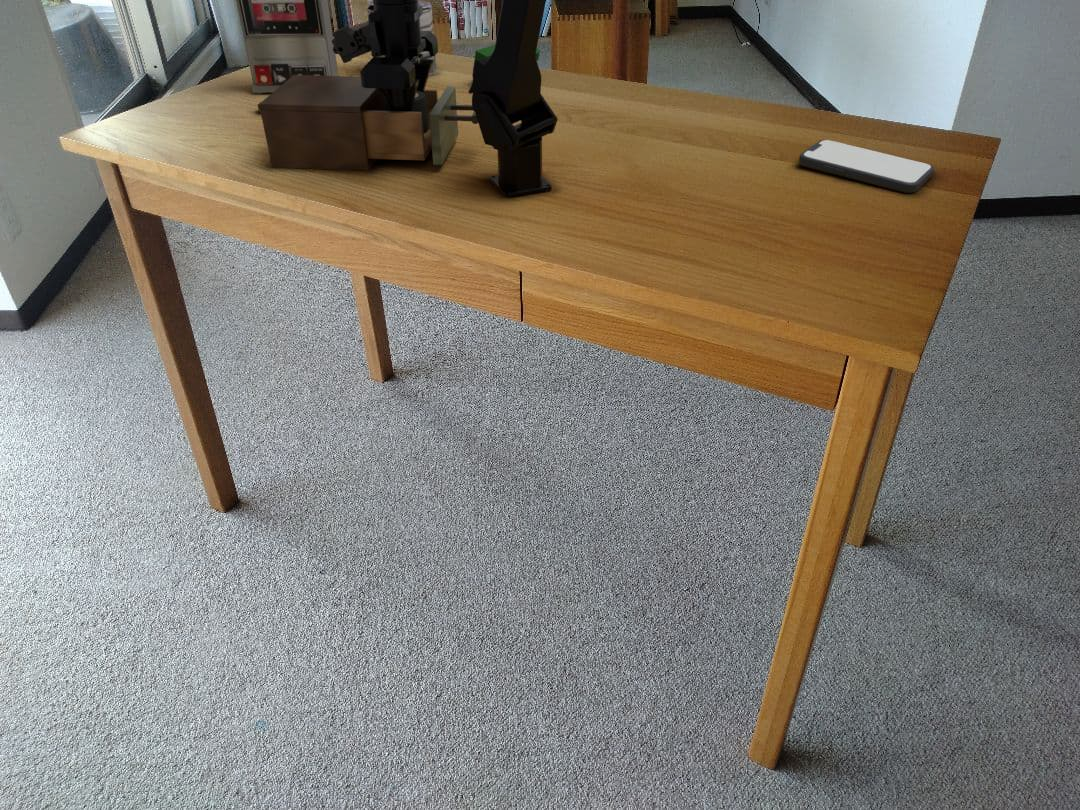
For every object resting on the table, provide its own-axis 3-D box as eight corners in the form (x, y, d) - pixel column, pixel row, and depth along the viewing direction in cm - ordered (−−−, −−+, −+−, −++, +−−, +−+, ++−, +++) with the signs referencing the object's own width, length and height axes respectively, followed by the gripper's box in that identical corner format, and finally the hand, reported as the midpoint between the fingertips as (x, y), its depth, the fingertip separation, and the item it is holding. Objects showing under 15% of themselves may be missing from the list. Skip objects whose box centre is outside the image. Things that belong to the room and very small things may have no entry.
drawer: (490, 135, 121) (488, 87, 117) (477, 166, 111) (474, 115, 107) (375, 131, 122) (369, 84, 118) (351, 162, 112) (344, 111, 108)
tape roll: (421, 122, 118) (418, 87, 115) (432, 134, 114) (429, 98, 111) (384, 127, 117) (380, 92, 114) (393, 139, 112) (389, 103, 110)
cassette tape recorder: (252, 94, 140) (217, -75, 125) (261, 84, 145) (228, -80, 130) (335, 93, 140) (309, -76, 125) (340, 83, 145) (317, -81, 130)
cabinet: (392, 136, 123) (386, 77, 118) (368, 170, 112) (360, 106, 107) (304, 134, 124) (293, 74, 119) (271, 167, 113) (258, 103, 108)
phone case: (934, 176, 110) (820, 148, 118) (937, 165, 109) (823, 137, 117) (911, 197, 105) (794, 166, 113) (915, 185, 104) (796, 155, 112)
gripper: (354, -15, 113) (369, 101, 123) (310, 15, 99) (331, 145, 108) (434, -14, 112) (442, 103, 122) (402, 17, 98) (414, 147, 107)
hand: (407, 123), depth 115 cm, fingers closed on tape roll, 5 cm apart
